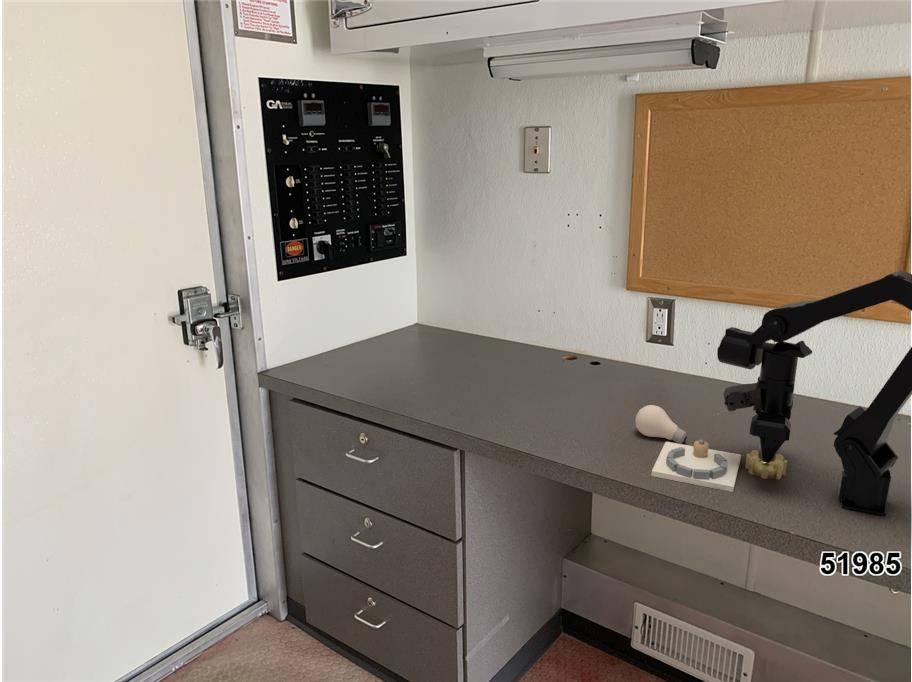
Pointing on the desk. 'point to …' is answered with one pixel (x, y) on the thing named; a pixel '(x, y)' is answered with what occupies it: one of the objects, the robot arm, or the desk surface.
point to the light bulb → (658, 424)
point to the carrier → (697, 465)
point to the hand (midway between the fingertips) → (767, 455)
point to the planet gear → (765, 465)
